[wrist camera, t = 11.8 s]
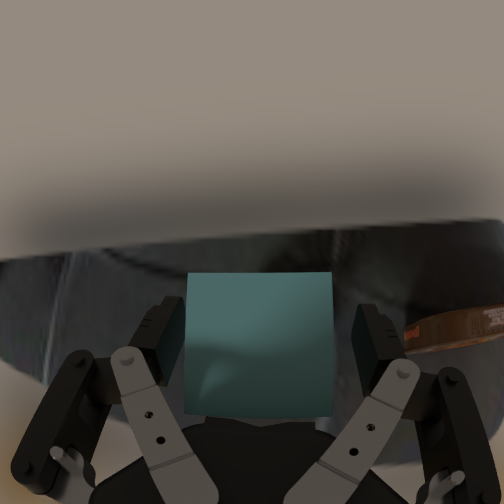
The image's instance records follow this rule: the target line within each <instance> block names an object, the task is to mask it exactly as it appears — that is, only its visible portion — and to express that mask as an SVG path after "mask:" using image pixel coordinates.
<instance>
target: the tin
mask: <svg viewBox="0 0 504 504" xmlns="http://www.w3.org/2000/svg"><path fill="white" fill-rule="evenodd" d="M503 337H504V303H501V304H494V305H487V306H480V307H473V308H466V309H460V310H454V311H449V312H445V313H440V314H436V315H432V316H429V317H426V318H423V319H421V320H419V321H417V322H416V323H413V324H411V325H408V326H405V327H404V328H403V339H404V352H405V354H418V353H425V352H433V351H439V350H446V349H452V348H457V347H463V346H469V345H474V344H478V343H483V342H487V341H492V340H496V339H500V338H503Z"/></svg>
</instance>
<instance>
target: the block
mask: <svg viewBox="0 0 504 504" xmlns="http://www.w3.org/2000/svg"><path fill="white" fill-rule="evenodd" d="M333 384H334V325H333V292H332V272H305V273H188V284H187V303H186V326H185V361H184V414H194V415H204V416H216V417H232V418H263V419H283V418H314V417H330V416H333Z"/></svg>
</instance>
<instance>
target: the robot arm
mask: <svg viewBox="0 0 504 504" xmlns="http://www.w3.org/2000/svg"><path fill="white" fill-rule="evenodd" d="M185 326H186V313H185V307H184V301H183V298H182V297H177V296H165V298H164V300H163V301H162V303H161V305H160V306H158V305H155V306H154V307H152V308H151V309H150V310H149V311H147V313H146V315H145V316H144V318H143V320H142V322H141V323H140V326H139V327H138V328H137V330H136V332H135V334H134V335H133V337H132V339H131V341H130V343H129V344H128V346H127V347H123V348H120V349H118V350H117V351H115V352H114V353H113V355H112V356H111V357H110V358H97V359H94V357H93V355H92V353H91V352H89V351H87V350H77V351H74V352H72V353H71V354H69V355H68V356H67V358H66V359H65V361H64V363H63V364H62V366H61V368H60V369H59V371H58V373H57V374H56V376H55V378H54V380H53V381H52V383H51V385H50V387H49V388H48V390H47V392H46V394H45V396H44V397H43V399H42V401H41V403H40V405H39V407H38V409H37V411H36V413H35V414H34V416H33V418H32V420H31V422H30V424H29V426H28V428H27V430H26V432H25V434H24V436H23V438H22V440H21V442H20V444H19V446H18V449H17V451H16V453H15V455H14V457H13V459H12V462H11V473H12V475H13V477H14V479H15V480H16V481H18V482H19V483H20V484H22V485H23V486H25V487H26V488H27V489H28V490H29V491H30V492H32V493H33V494H35V495H36V496H38V497H39V498H41V499H42V500H44V501H45V502H47V503H49V504H409V503H408V502H407V501H406V500H405V499H403V498H402V497H401V496H400V495H399V494H398V493H396V492H395V491H394V490H393V489H392V488H391V487H390V486H389V485H387V484H386V483H385V482H384V481H383V480H382V479H381V478H379V477H378V476H377V475H376V474H375V473H374V472H373V471H372V470H371V469H370V467H371V466H372V464H373V463H374V461H375V460H376V458H377V456H378V455H379V453H380V452H381V450H382V448H383V447H384V445H385V443H386V442H387V440H388V438H389V437H390V435H391V433H392V432H393V430H394V428H395V426H396V424H397V423H398V421H399V419H400V418H403V419H409V420H414V421H415V426H416V431H417V436H418V441H419V447H420V452H421V458H422V464H423V471H424V477H425V484H423V485H422V486H421V487H420V488H419V490H418V492H417V495H416V503H415V504H500V501H501V489H500V484H499V480H498V476H497V472H496V468H495V464H494V460H493V456H492V452H491V449H490V446H489V442H488V439H487V436H486V432H485V429H484V426H483V423H482V420H481V417H480V414H479V412H478V409H477V406H476V403H475V401H474V398H473V395H472V393H471V390H470V388H469V385H468V383H467V380H466V378H465V376H464V374H463V373H462V372H461V371H460V370H458V369H456V368H453V367H445V368H443V369H441V370H440V371H439V373H438V375H435V374H429V373H424V372H420V370H419V368H418V366H417V365H416V364H415V363H414V362H412V361H410V360H407V357H406V355H405V352H404V350H403V347H402V345H401V342H400V340H399V338H398V335H397V332H396V331H395V328H394V325H393V323H392V321H391V320H390V319H389V318H388V317H387V316H386V315H379V312H378V310H377V307H376V305H375V304H359V305H358V307H357V311H356V315H355V320H354V324H353V328H352V334H351V340H352V346H353V350H354V354H355V359H356V363H357V367H358V372H359V377H360V381H361V386H362V391H363V396H364V397H366V399H365V400H364V402H363V403H362V405H361V406H360V407H359V409H358V410H357V412H356V413H355V414H354V416H353V417H352V419H351V420H350V421H349V423H348V424H347V425H346V427H345V428H344V429H343V431H342V432H341V433H340V434H339V436H338V437H337V438H336V437H334V436H332V435H330V434H328V433H326V432H323V431H320V430H315V422H286V423H281V424H275V425H270V426H264V427H258V426H254V425H250V424H247V423H243V422H240V421H237V420H234V419H226V418H217V417H208V416H206V418H205V422H204V423H203V424H196V425H192V426H189V427H186V428H184V429H182V430H180V428H179V426H178V424H177V422H176V420H175V419H174V417H173V415H172V413H171V411H170V409H169V407H168V405H167V403H166V401H165V399H164V397H163V395H162V393H161V391H160V389H159V387H158V386H164V387H167V384H168V382H169V379H170V376H171V374H172V371H173V368H174V366H175V363H176V360H177V358H178V355H179V352H180V350H181V347H182V344H183V342H184V339H185ZM112 404H123V407H124V409H125V412H126V415H127V418H128V420H129V423H130V425H131V428H132V430H133V433H134V435H135V438H136V440H137V443H138V445H139V447H140V449H141V452H142V454H143V456H142V457H140V458H139V459H137V460H136V461H134V462H133V463H131V464H130V465H128V466H126V467H125V468H123V469H122V470H120V471H119V472H117V473H115V474H113V475H112V476H110V477H109V478H107V479H105V480H104V481H102V482H101V483H99V484H98V485H97V486H95V476H96V473H95V470H94V468H93V466H92V465H91V464H90V462H91V459H92V457H93V454H94V451H95V448H96V446H97V443H98V440H99V437H100V435H101V432H102V429H103V427H104V424H105V421H106V419H107V416H108V414H109V411H110V409H111V406H112Z"/></svg>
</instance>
